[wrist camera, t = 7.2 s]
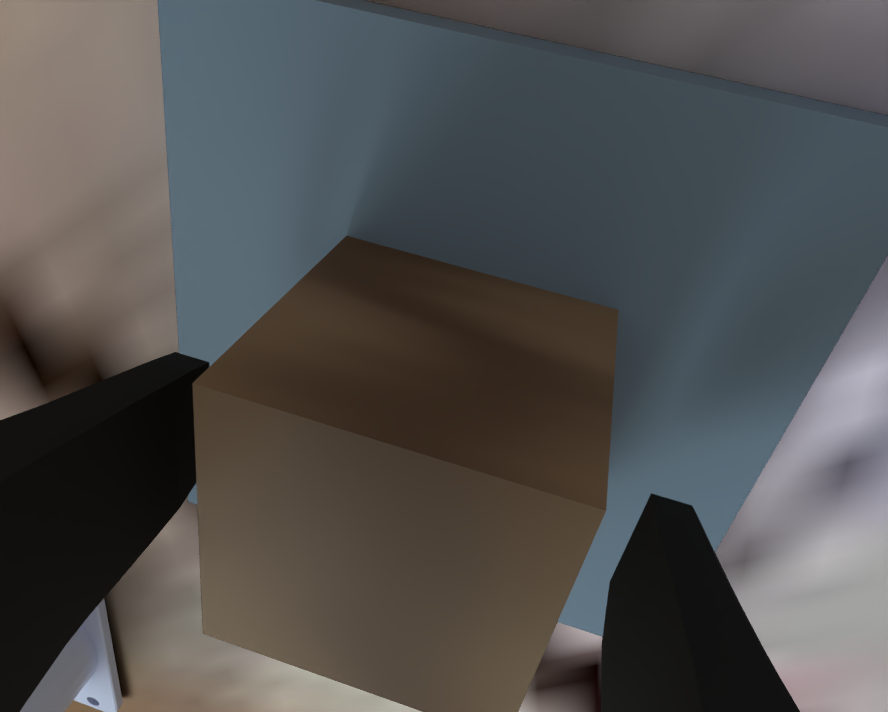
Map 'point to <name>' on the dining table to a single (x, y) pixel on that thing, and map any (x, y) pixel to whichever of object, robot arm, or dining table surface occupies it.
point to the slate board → (534, 214)
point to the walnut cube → (404, 476)
